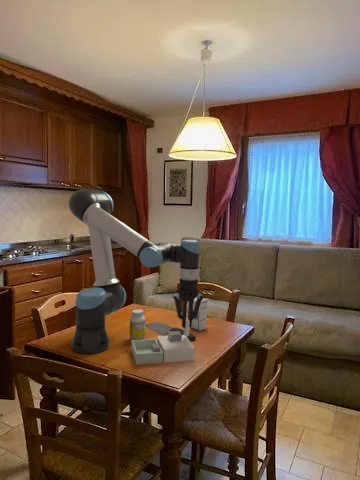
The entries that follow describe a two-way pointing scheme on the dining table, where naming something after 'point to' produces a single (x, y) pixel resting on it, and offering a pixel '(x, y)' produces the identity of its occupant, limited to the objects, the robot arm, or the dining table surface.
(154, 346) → the slate tile
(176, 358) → the plate
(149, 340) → the box
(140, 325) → the supplement bottle
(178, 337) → the slate tile
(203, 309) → the syrup box
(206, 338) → the dining table surface
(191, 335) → the cleaver
